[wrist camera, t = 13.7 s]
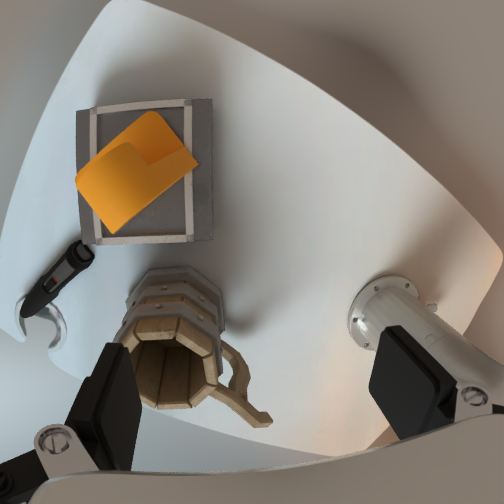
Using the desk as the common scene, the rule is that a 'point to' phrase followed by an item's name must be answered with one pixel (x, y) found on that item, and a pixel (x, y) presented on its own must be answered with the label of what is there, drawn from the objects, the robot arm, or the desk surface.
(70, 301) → the desk surface
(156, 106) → the grey square tray
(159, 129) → the bracket
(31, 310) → the electric trimmer
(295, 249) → the desk surface
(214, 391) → the tankard
